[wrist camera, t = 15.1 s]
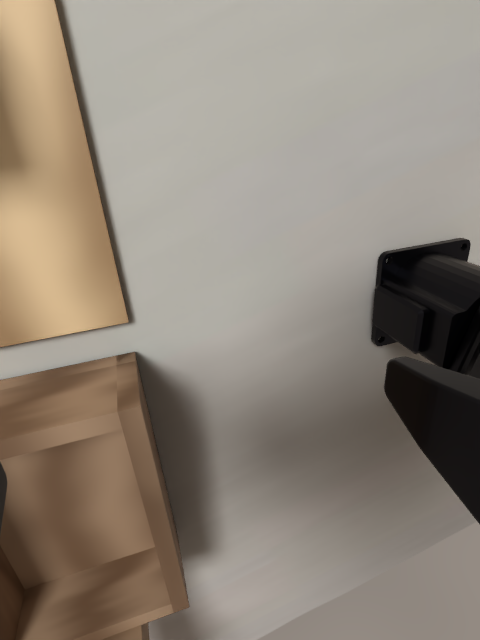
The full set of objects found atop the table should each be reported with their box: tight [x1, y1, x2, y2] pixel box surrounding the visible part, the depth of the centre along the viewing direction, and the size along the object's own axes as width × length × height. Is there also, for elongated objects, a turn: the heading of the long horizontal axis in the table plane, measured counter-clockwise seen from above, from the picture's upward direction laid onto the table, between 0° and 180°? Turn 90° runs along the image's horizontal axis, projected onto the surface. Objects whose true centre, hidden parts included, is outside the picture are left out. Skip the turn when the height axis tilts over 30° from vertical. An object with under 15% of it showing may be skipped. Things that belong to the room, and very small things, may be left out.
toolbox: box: [0, 352, 189, 640], centre depth 22 cm, size 11×19×6 cm, turn 5°
